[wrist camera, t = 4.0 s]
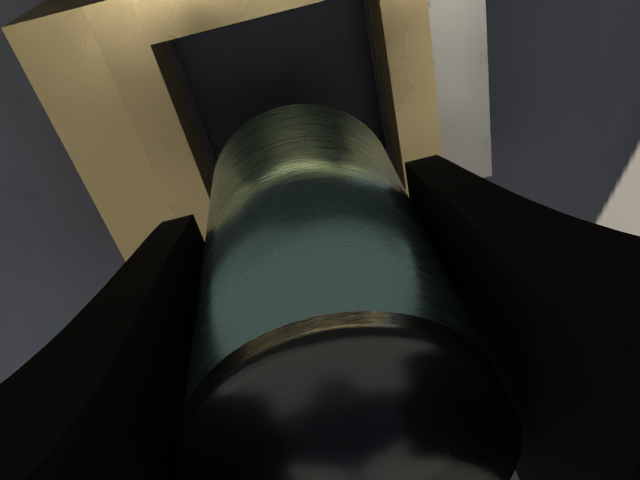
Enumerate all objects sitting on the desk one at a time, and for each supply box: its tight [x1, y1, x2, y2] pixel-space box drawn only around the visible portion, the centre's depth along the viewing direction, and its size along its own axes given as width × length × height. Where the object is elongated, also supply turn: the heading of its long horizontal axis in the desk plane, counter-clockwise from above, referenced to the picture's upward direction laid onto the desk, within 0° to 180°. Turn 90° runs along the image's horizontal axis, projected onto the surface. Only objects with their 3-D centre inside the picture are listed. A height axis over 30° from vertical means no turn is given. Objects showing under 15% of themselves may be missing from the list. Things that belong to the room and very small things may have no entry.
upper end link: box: [1, 0, 442, 262], centre depth 16 cm, size 8×10×3 cm
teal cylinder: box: [176, 104, 523, 480], centre depth 9 cm, size 4×4×7 cm
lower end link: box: [163, 0, 492, 178], centre depth 17 cm, size 8×10×2 cm
